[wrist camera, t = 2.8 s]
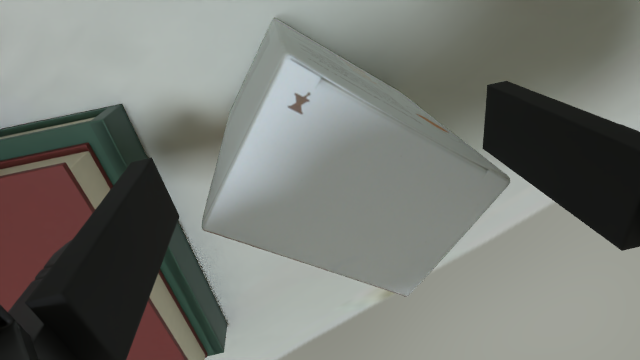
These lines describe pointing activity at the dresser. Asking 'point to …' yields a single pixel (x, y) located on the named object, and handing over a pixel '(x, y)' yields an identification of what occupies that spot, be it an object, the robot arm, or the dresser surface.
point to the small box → (342, 169)
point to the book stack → (75, 209)
